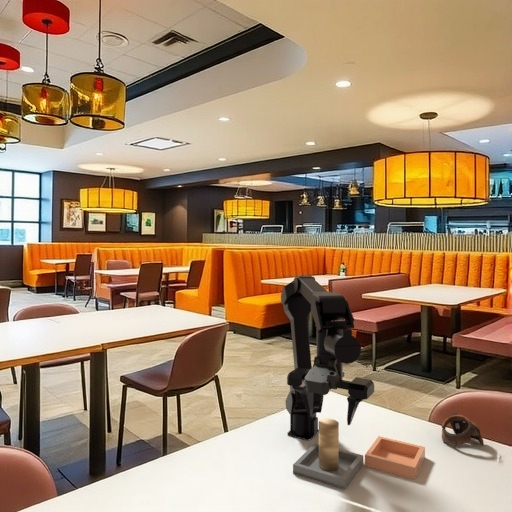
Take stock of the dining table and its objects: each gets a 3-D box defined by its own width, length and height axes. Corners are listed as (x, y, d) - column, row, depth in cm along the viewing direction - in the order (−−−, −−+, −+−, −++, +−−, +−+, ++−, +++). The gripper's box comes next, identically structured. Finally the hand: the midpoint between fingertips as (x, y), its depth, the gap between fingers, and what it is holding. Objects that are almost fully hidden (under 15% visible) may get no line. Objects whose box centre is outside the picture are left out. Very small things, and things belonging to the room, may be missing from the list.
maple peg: (315, 468, 99) (315, 424, 99) (323, 459, 103) (323, 417, 102) (334, 473, 97) (334, 428, 96) (341, 464, 100) (341, 421, 100)
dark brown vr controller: (493, 455, 108) (482, 429, 106) (456, 468, 109) (444, 444, 107) (472, 422, 119) (461, 399, 117) (438, 435, 121) (427, 412, 119)
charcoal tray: (293, 475, 98) (293, 464, 98) (315, 452, 108) (315, 442, 108) (344, 491, 92) (345, 480, 91) (363, 466, 102) (363, 455, 102)
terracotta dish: (364, 467, 101) (364, 454, 101) (378, 447, 110) (378, 436, 110) (414, 481, 95) (415, 467, 95) (424, 459, 105) (425, 446, 105)
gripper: (275, 353, 96) (275, 424, 97) (358, 366, 87) (358, 444, 87) (297, 343, 106) (297, 407, 107) (375, 353, 96) (374, 424, 97)
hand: (329, 420), depth 99 cm, fingers open, 9 cm apart
